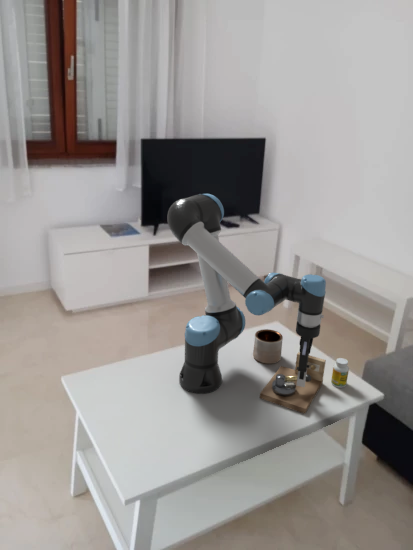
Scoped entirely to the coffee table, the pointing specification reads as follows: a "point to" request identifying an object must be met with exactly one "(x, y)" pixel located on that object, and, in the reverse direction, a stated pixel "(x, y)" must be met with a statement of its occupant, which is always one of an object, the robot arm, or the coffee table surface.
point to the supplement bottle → (340, 373)
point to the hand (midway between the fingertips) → (300, 385)
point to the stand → (302, 394)
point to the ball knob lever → (286, 384)
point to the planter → (267, 346)
